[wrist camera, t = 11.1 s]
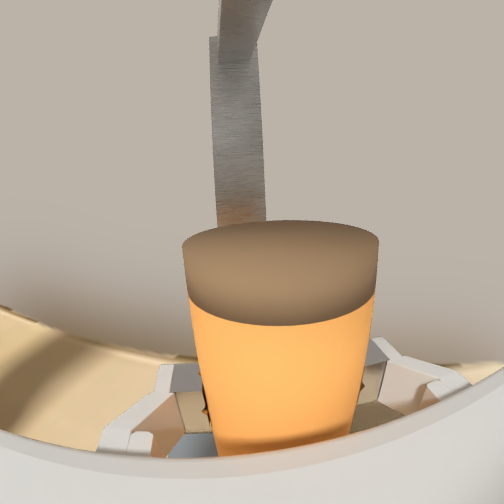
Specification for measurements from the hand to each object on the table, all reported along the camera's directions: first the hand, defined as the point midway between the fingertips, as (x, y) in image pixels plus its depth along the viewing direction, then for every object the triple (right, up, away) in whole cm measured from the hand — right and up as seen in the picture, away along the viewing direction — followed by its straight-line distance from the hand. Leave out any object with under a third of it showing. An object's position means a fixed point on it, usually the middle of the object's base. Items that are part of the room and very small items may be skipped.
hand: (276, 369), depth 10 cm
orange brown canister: (+1, -7, +1) cm, 7 cm away
